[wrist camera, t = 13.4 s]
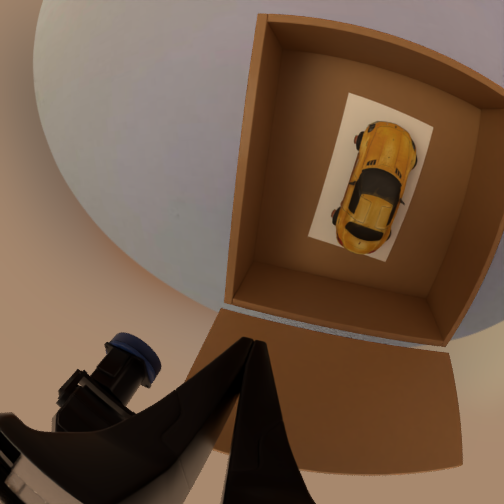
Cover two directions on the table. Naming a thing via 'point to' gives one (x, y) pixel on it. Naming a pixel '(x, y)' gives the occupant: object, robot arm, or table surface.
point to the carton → (315, 171)
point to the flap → (350, 399)
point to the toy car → (370, 178)
